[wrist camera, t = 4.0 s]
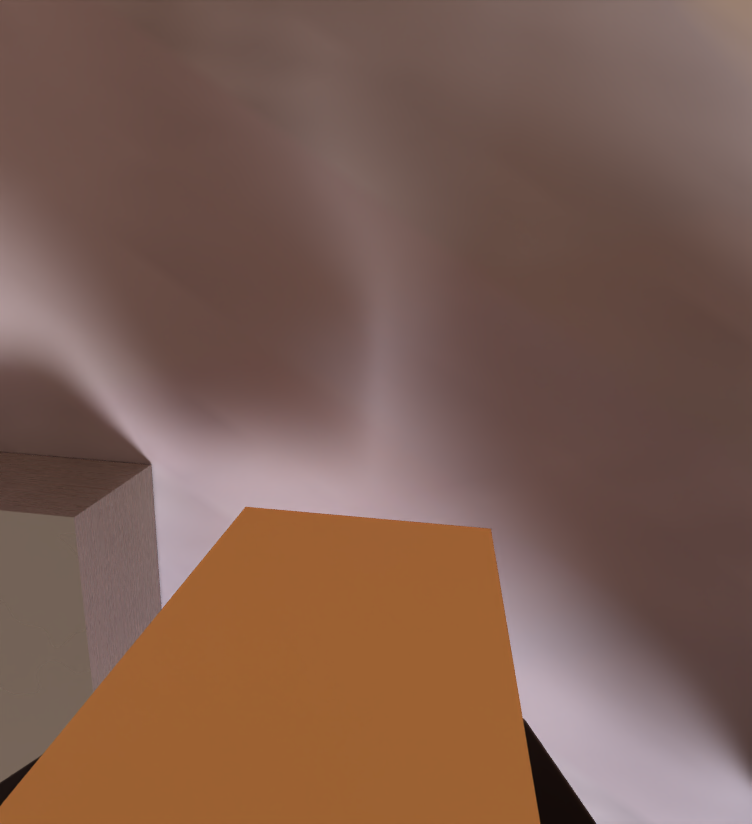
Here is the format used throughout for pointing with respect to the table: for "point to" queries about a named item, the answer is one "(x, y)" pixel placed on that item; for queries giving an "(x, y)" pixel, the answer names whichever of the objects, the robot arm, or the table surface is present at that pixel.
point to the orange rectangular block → (306, 689)
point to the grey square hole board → (68, 588)
